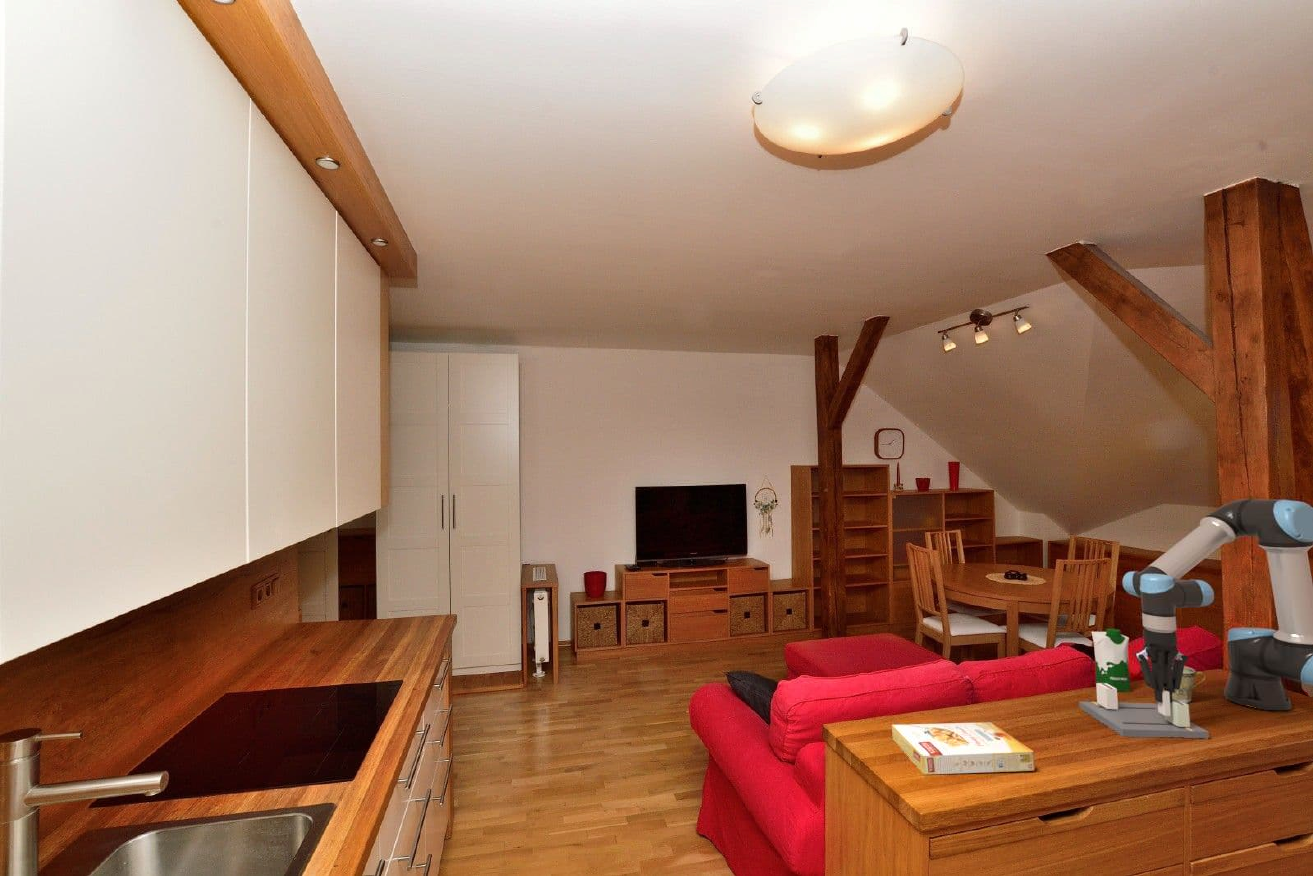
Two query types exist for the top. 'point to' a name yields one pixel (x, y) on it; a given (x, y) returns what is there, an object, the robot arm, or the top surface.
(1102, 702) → the block
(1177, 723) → the fader
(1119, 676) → the milk carton
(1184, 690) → the ceramic cup
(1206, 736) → the console
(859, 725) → the top surface
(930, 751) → the cereal box
